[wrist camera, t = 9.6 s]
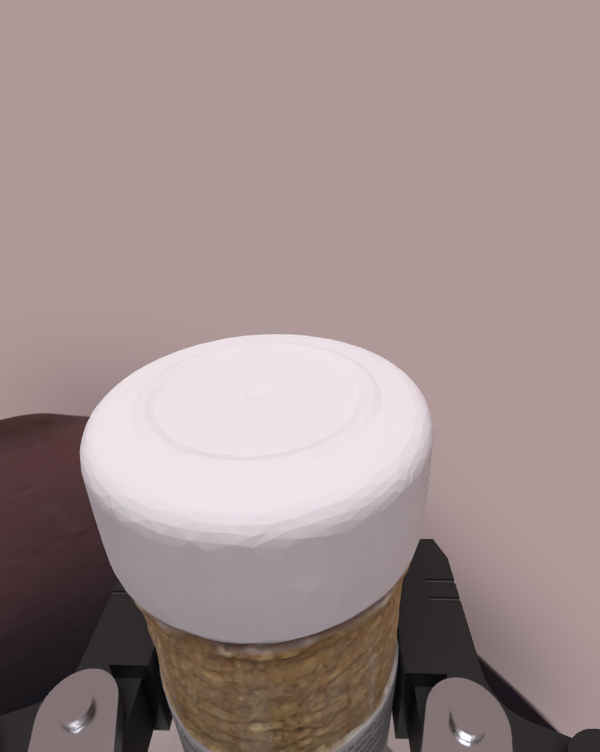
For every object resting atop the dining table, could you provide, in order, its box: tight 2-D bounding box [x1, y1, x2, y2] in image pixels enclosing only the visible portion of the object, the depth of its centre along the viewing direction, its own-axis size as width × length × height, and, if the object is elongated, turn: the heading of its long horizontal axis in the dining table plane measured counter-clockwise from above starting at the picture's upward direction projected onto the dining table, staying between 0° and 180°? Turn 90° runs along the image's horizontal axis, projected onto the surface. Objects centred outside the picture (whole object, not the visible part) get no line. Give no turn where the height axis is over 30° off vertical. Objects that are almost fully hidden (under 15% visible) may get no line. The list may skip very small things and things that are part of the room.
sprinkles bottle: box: [80, 334, 433, 752], centre depth 9 cm, size 5×5×14 cm
